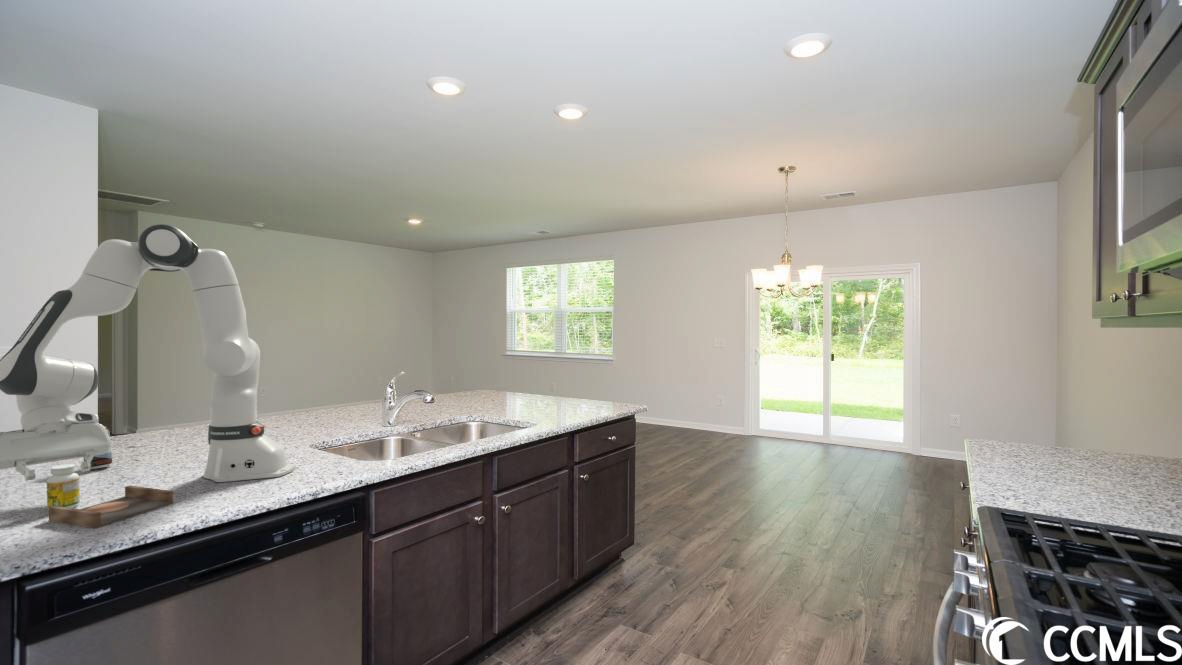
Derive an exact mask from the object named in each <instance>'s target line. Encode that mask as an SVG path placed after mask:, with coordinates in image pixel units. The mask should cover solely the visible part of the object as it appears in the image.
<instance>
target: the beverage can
mask: <svg viewBox="0 0 1182 665" xmlns="http://www.w3.org/2000/svg"><path fill="white" fill-rule="evenodd" d="M104 427H105V429H106V431H107V433H108V435H109V437H110V438H111V434H110V430H109V429H108V428H107V426H104ZM82 459H83V462H86V461H87V460H85V458H84V457H82ZM112 463H113V453H112V446H111V447H110V449H109V451H108V452H107V453H106V454H102V455H95V456H93V459H92V461H91V462H90V464H91V469H90V470H94V469H100V468H101V469H102V468H105V467H109V466H110V465H111V464H112Z"/></svg>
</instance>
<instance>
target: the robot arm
mask: <svg viewBox="0 0 1182 665" xmlns="http://www.w3.org/2000/svg"><path fill="white" fill-rule="evenodd" d="M147 271H150V272H151V271H152V272H153V271H155V272H156V271H157V272H168V273H169V272H171V273H172V272H173V273H174V272H179V271H182V272H183V273H184V274H185V275H186V276H187V278H188V282H189V285H190V288H191V292H192V293H191V294H192V295H193V296H192V297H193V300H194V304H195V307H196V312H197V314H198V315H197V316H198V319H199V323H200V324H199V325H200V335H201V343H202V350H203V363H204V364H205V367H206V368H207V369H208V371H210V372H211V373H212V374H214V377H213V378H214V379H213V382H212V383H213V384H212V390H211V394H210V399H209V401H210V402H209V404H210V405H209V406H210V408H209V409H210V410H209V411H210V416H209V417H210V418H209V419H210V420H209V422H210V424H209V425H208V431H207V440H208V445H209V448H208V456H207V461H206V466H205V469H204V473H203V475H202V476H203V478H204V479H208V480H212V481H213V482H215V483H223V482H237V481H246V480H247V481H248V480H258V479H268V478H269V479H271V478H280V477H283V476H285V475H288V474H289V473H291V472H292V471H294V470H295V469H296V466H297V465H296V462H295V461H293V460H292V461H291V460H288V456H287V455H288V454H287V451H286V448H285V447H284V445H282V444H281V443H278V442H277V441H276V440H274V439H273V438H271V437H269V436H267V435H266V434H265V428H266V427H267V425H266V423H263V424H262V423H260V422H259V421H258V419H257V418H258V417H257V416H258V415H257V414H258V405H257V404H258V401H257V400H258V387H259V381H260V380H259V377H260V367H261V366H260V365H261V349H260V347H259V344H258V343H257V342H256V341H255V340H254V339H252V338H251V337H250V336H249V330H248V324H247V323H248V322H247V310H246V306H245V304H244V299H243V296H242V291H241V287H240V284H239V280H238V278H237V274H236V272H235V268H234V267H233V265H232V262H231V261H230V259H229V257H228V255H227V254H226V253H225V252H223V251H222V250H219V249H214V248H199V246H198V244H196V243H195V242H194V241H193V240H192V239H191V238H190V237H189V236H188V235H187V234H186V233H185V232H184V231H182V230H181V229H179V228H178V227H176V226H174V225H170V224H164V223H161V224H160V223H159V224H158V223H157V224H154V225H151V226H148V227H147V228H145V229H144V230H142V232H141V233H140V235H139V237H138V240H137V241H136V242H134V241H133V242H132V241H128V240H124V239H119V238H117V239H115V238H113V239H107V240H104V241H103V242H101V243H100V244H99V245H98V247H97V248H96V249H95V251H93V253H92V255H91V257H90V258H89V259H88V261H87V263H86V265H85V266H84V269H83V270H82V273H81V275H80V277H79V278H78V280H77V281H76V282H75V283H73V284H72V285H71V286H69V287H68V288H67V289H64V290H59V291H56V292H55V293H54V294H52V295H51V296H50V297H49V298H48V300H47V301H46V302H45V303H44V305H42V307H41V308H40V309H39V311H38V312H37V313H36V314H35V316H34V318H33V319H31V322H30V323H29V324H28V326H27V327H26V329H25V330H24V331H23V332H22V334H21V335H20V337H19V338H18V339H17V341H16V342H15V344H14V345H13V346H12V347H11V348H10V349H9V350H8V352H6V353H5V354H4V355H3V356H2V357H1V358H0V392H3V393H4V394H5V395H9V396H11V395H12V396H15V398H16V404H17V409H18V411H19V412H20V414H21V416H20V425H21V429H16V430H9V431H0V470H6V469H13V468H14V469H15V471H16V472H18V473H19V474H21V475H23V476H24V480H25V482H26V481H27V482H28V481H32V480H35V479H36V477H37V476H36V471H35V469H29V468H28V467H26V466H32V465H40V464H49V463H53V462H60V461H66V460H67V461H68V460H73V459H81V458H82V459H84V458H85V460H87V461H86V462H84V461H82V462H81V463H80V466H79V467H80V471H81V472H88V471H89V472H90V470H92V469H91V464H90V462H91V461H92V459H93V456H95V455H102V454H106V453H107V452H108V451H109V449H110V447H111V448H112V446H111V445H112V441H111V436H110V437H109V435H108V433H107V431H106V429H105V427H106V426H104V425H103V424H101V423H99V419H100V418H99V415H98V414H96V413H87V412H86V413H85V412H78V411H72V410H70V407H71V406H75V405H77V404H78V403H81V402H82V401H83V400H85V399H86V398H88V397H89V396H91V395H92V394H93V393H94V392H95V391H96V390H97V388H98V387H99V375H98V371H97V369H96V367H95V366H94V365H93V364H92V363H89V362H85V361H79V360H75V359H68V358H60V357H54V356H48V355H43V354H44V352H45V350H46V349H47V347H48V346H49V345H50V343H51V342H52V340H53V339H54V338H55V336H56V334H57V333H58V332H59V330H60V329H61V327H62V326H64V325H65V324H66V323H67V322H69V321H71V320H75V319H78V318H85V317H100V316H108V315H113V314H117V313H118V312H121V311H123V310H124V309H125V310H126V308H127V307H128V306H129V305H130V303H131V302H132V300H133V299H134V296H135V294H136V292H137V289H138V288H139V285H140V282H141V280H142V278H143V277H144V275H145V273H146V272H147ZM83 457H84V458H83Z"/></svg>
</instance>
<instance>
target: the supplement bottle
mask: <svg viewBox="0 0 1182 665" xmlns="http://www.w3.org/2000/svg"><path fill="white" fill-rule="evenodd" d="M75 471H76V464H74V463H73V464H72V463H70V464H60V465H55V466H51V467H50V474H51V476H50V477H48V478H47V480H46V508H47V509H46V510H47V511H49V507H51V506H60V507H67V508H74V507H75V508H76V507H78V506H79V505H80V501H81V500H80V499H81V498H80V495H81V493H80V476H79V474H78V473H77V472H75ZM75 508H74V509H75Z"/></svg>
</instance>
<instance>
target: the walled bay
mask: <svg viewBox="0 0 1182 665" xmlns="http://www.w3.org/2000/svg"><path fill="white" fill-rule="evenodd" d="M173 504H174V490H169V489H168V490H167V489H160V488H152V487H144V486H136V485H126V486H124V496H122V497H119V498H115V499H112V500H108V501H105V502H102V503H98V504H94V505H90V506H87V507H83V508H67V507H60V506H51V507H49V510H48V522H52V521H53V522H54V523H61V524H65V523H66V525H71V524H73V526H77V525H79V526H80V527H84V526H85V527H84V528H90V527H91V528H90V529H98V528H101V527H105V526H108V525H110V524H115V523H116V522H120V521H123V520H126V519H129V518H133V517H136V516H139V515H142V514H145V513H147V512H152V511H154V510H157V509H160V508H164V507H167V506H170V505H173ZM53 522H52V523H53ZM79 526H78V527H79Z"/></svg>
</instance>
